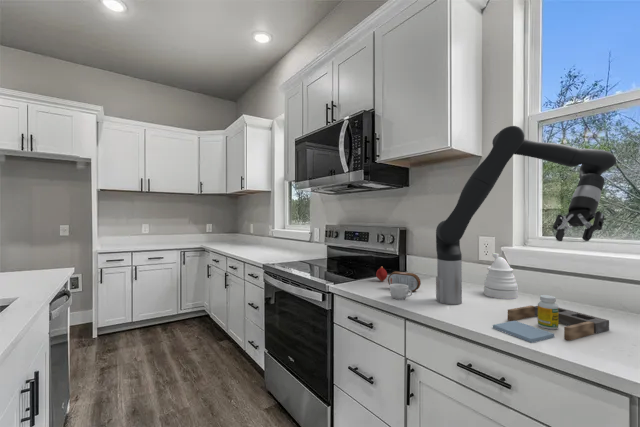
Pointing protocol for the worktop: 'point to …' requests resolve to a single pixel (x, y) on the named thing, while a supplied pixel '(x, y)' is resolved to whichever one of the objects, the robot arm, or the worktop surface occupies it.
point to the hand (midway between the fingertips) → (571, 240)
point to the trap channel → (566, 321)
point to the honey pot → (500, 280)
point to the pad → (524, 331)
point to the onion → (381, 274)
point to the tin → (405, 280)
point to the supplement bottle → (548, 312)
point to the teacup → (399, 291)
